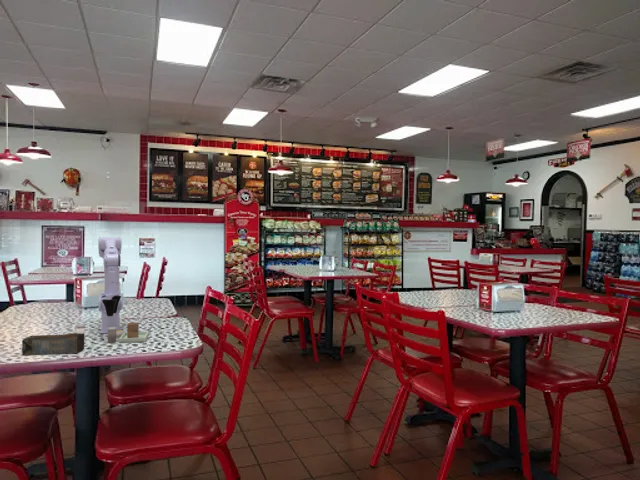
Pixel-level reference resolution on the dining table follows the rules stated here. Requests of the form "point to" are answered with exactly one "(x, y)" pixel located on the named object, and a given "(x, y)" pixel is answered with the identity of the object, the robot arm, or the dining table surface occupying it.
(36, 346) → the beverage carton
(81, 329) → the salt shaker
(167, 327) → the dining table surface
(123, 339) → the basket tray
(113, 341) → the pepper shaker
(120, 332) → the sauce cup
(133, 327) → the walnut block
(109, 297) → the robot arm
